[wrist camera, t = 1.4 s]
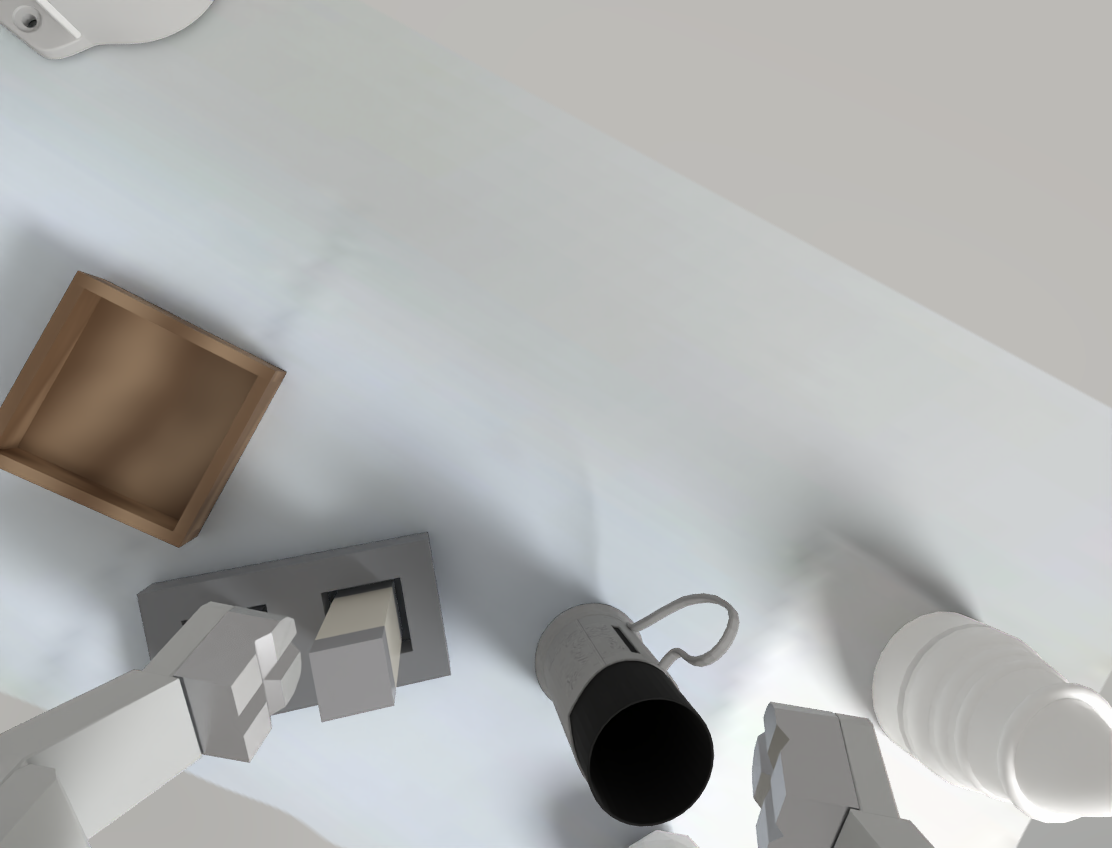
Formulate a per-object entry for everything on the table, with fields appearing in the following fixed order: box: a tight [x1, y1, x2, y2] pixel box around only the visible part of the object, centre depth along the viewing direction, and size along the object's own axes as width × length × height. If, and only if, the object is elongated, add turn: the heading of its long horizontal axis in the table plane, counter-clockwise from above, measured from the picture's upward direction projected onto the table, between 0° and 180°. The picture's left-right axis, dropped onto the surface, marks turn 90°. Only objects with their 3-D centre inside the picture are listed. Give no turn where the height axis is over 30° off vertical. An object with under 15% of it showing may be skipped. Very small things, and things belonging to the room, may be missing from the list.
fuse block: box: [137, 532, 451, 715], centre depth 48 cm, size 19×10×2 cm, turn 98°
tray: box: [0, 271, 287, 548], centre depth 45 cm, size 13×13×4 cm
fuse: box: [309, 579, 403, 722], centre depth 44 cm, size 4×4×12 cm
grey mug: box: [535, 593, 739, 826], centre depth 46 cm, size 9×14×15 cm, turn 140°
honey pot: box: [872, 611, 1112, 823], centre depth 50 cm, size 13×13×18 cm
